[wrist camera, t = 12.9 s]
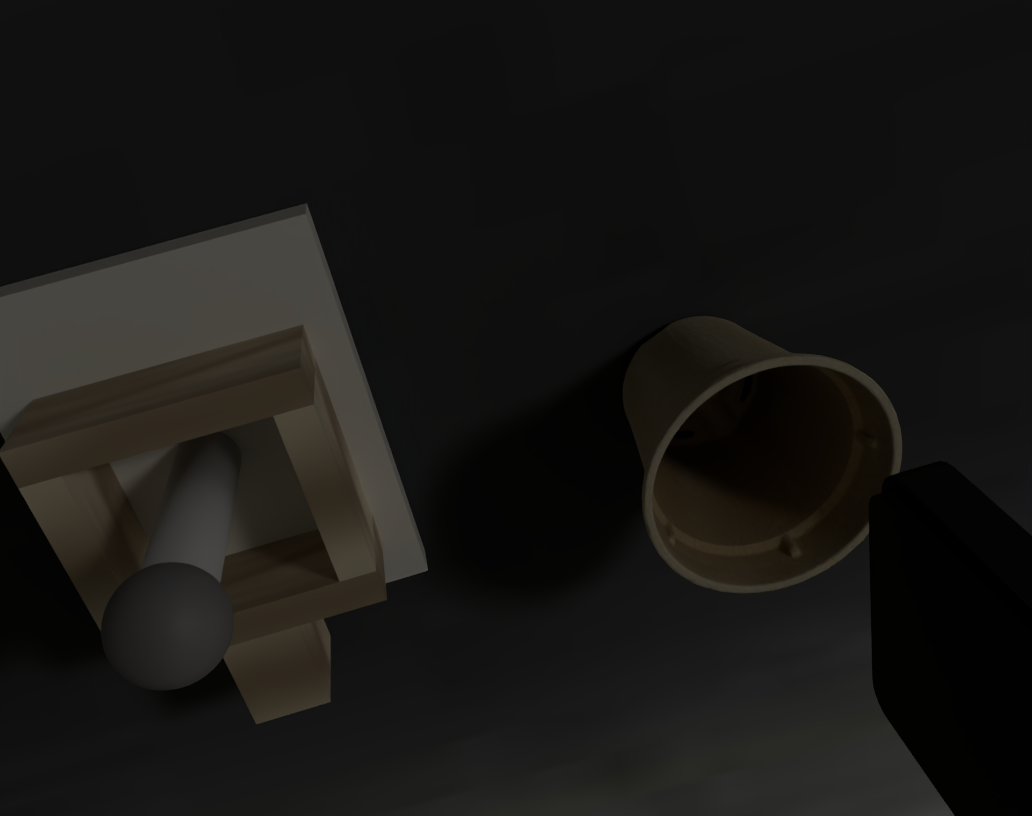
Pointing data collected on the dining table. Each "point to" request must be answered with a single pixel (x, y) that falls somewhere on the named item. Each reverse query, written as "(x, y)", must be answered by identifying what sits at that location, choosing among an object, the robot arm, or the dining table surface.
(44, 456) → the birch loop
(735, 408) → the flower pot
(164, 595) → the post stand
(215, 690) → the dining table surface
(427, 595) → the dining table surface
